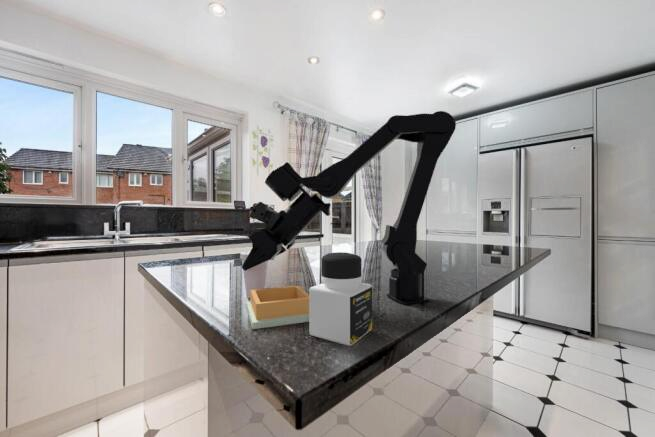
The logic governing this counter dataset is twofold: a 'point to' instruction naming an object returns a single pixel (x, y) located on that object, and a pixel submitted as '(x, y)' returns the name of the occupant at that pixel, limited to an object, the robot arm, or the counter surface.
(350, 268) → the medicine bottle
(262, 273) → the smoothie
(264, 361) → the counter surface
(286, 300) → the box
